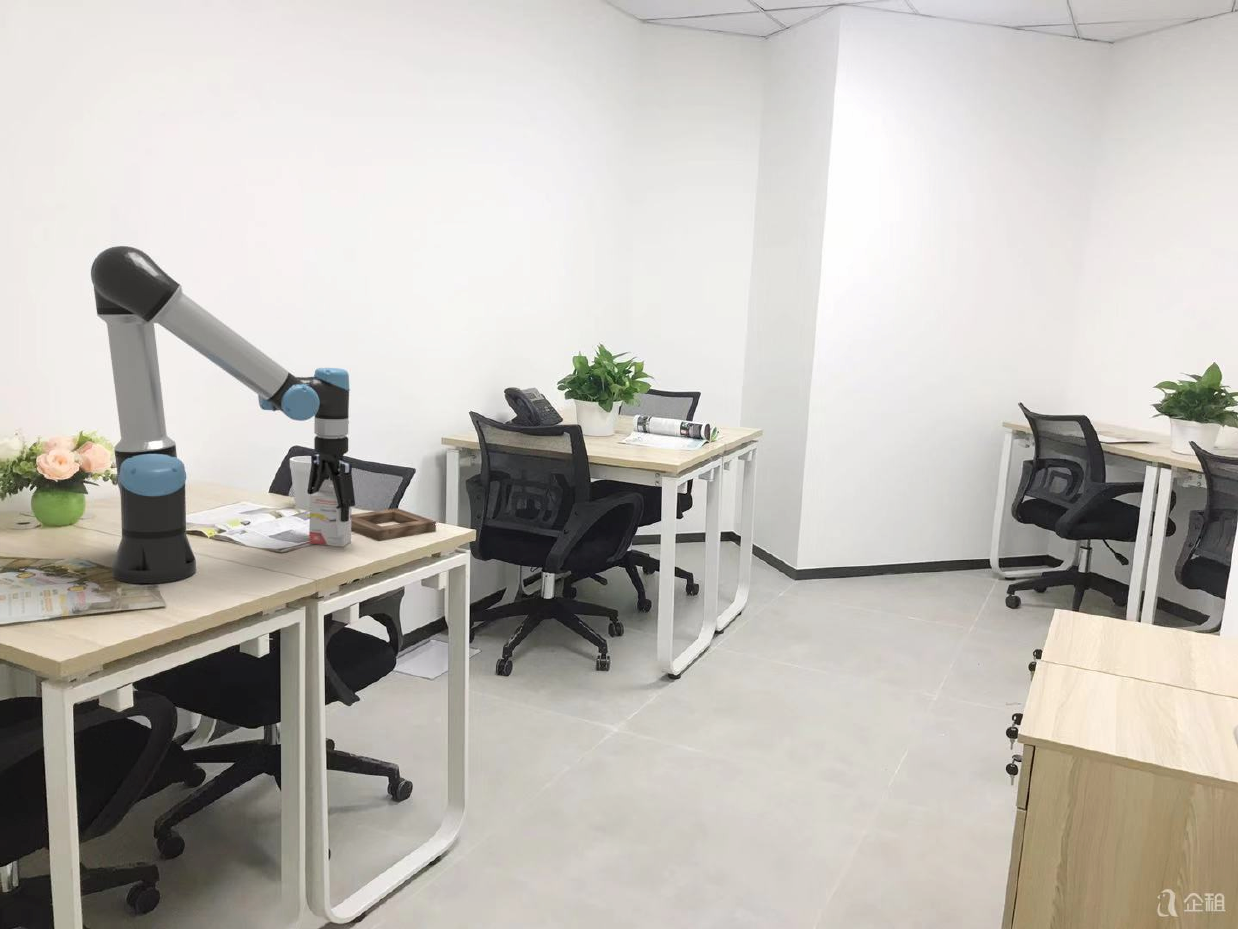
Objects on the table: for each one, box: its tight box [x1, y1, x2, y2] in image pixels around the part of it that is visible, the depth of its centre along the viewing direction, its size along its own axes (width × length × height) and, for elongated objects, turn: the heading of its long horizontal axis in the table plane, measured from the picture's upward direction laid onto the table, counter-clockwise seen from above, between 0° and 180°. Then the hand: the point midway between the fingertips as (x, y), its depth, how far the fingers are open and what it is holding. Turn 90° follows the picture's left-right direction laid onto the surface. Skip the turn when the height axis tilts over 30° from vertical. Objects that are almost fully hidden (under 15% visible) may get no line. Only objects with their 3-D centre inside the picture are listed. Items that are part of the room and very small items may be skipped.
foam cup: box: [289, 455, 313, 510], centre depth 252 cm, size 10×9×13 cm
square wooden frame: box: [351, 507, 437, 542], centre depth 236 cm, size 17×17×2 cm
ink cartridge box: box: [308, 479, 353, 548], centre depth 219 cm, size 9×5×15 cm, turn 84°
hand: (330, 530), depth 220 cm, fingers closed on ink cartridge box, 9 cm apart
